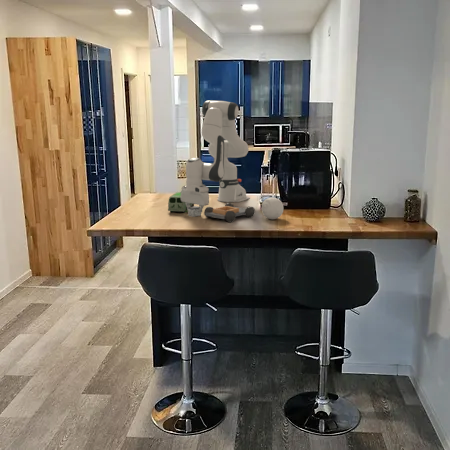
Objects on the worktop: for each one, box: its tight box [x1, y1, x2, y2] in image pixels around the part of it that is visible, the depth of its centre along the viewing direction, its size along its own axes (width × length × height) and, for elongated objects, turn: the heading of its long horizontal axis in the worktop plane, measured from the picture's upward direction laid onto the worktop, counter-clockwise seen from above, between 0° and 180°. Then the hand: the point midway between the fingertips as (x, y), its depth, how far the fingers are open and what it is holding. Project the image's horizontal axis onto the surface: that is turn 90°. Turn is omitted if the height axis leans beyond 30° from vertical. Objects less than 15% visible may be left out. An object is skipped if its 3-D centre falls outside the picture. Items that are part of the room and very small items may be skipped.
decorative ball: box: [261, 197, 284, 220], centre depth 279 cm, size 12×12×12 cm
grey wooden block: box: [187, 205, 202, 218], centre depth 289 cm, size 6×4×5 cm
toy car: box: [167, 191, 195, 214], centre depth 306 cm, size 11×25×10 cm, turn 169°
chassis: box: [203, 202, 256, 223], centre depth 284 cm, size 24×18×6 cm
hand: (194, 211), depth 289 cm, fingers open, 8 cm apart
